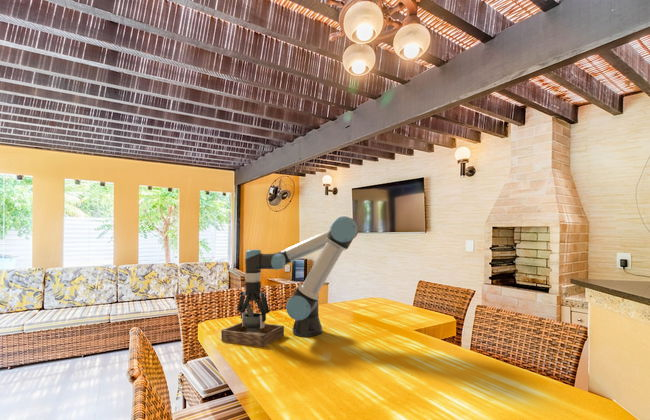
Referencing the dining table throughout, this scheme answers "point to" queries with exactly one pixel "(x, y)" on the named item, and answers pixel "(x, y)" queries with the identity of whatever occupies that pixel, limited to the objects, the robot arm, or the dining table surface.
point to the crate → (252, 335)
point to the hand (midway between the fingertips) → (253, 326)
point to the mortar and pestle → (251, 319)
